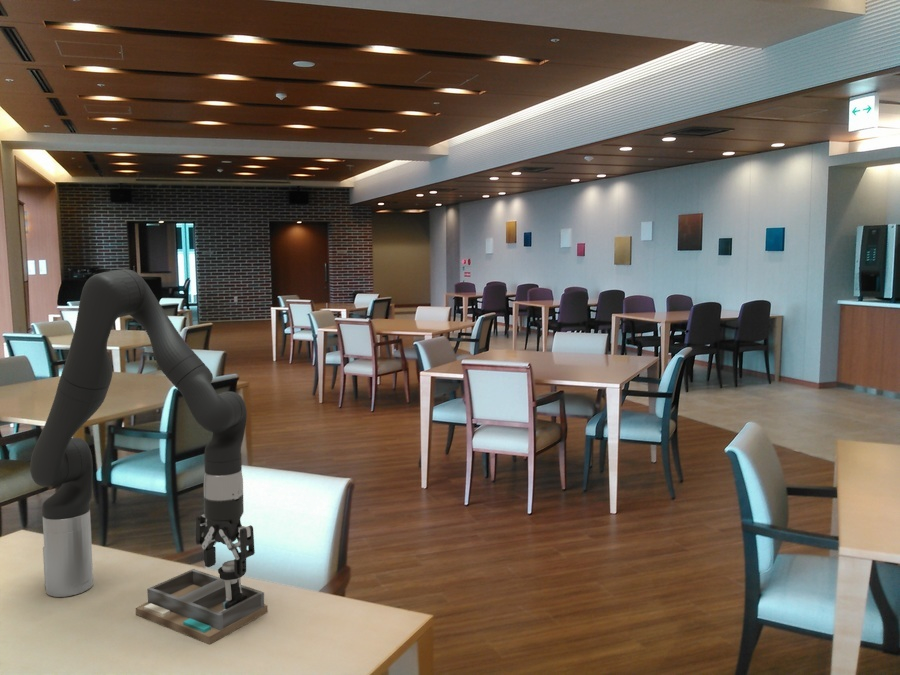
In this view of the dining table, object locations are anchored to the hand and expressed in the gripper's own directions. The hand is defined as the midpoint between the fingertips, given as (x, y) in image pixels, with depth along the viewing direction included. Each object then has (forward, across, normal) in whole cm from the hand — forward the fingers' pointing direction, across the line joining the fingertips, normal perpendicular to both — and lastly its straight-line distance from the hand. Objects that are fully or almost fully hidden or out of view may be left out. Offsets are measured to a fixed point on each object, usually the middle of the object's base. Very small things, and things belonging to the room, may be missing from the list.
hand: (225, 570), depth 145 cm
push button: (+9, +2, 0) cm, 9 cm away
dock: (+10, -6, -1) cm, 12 cm away
